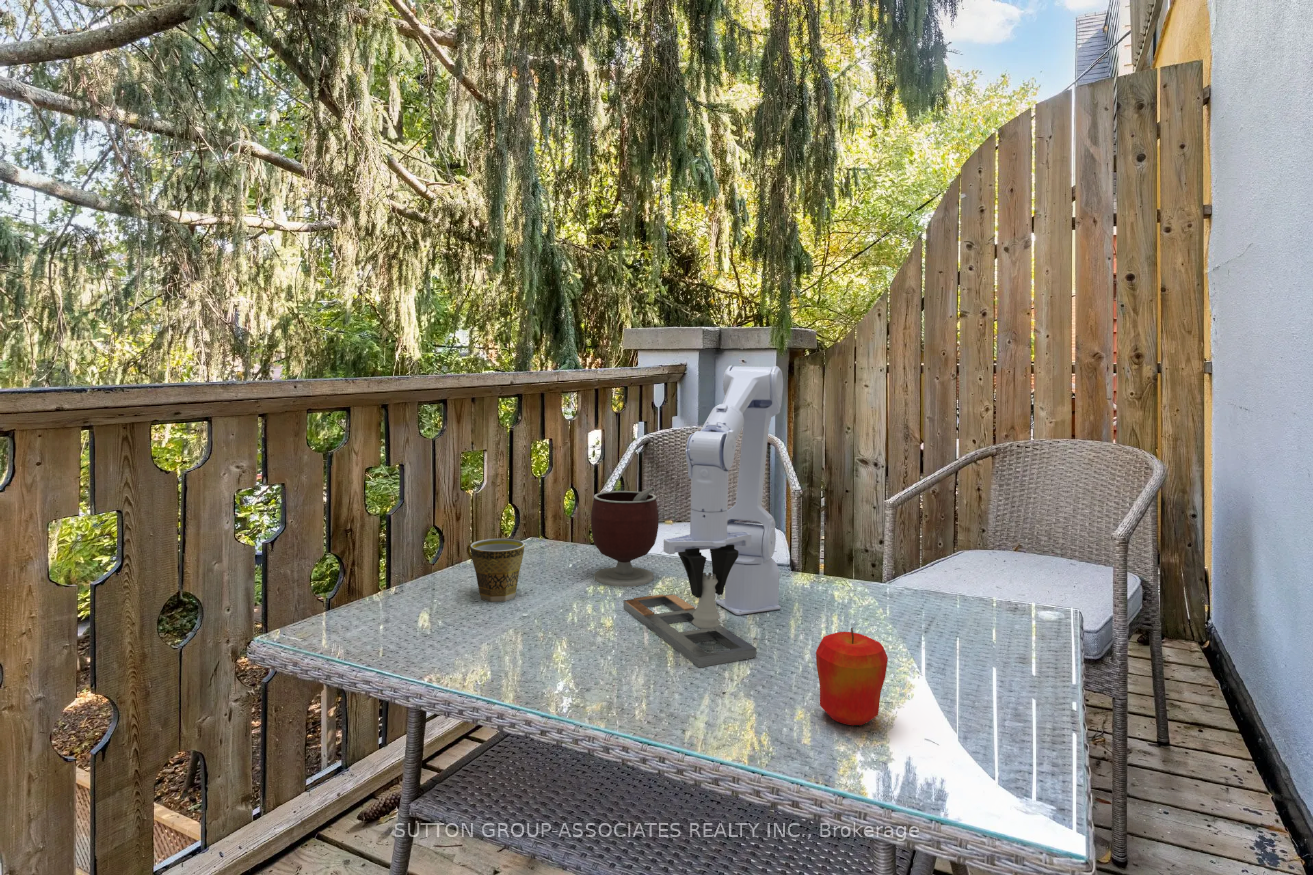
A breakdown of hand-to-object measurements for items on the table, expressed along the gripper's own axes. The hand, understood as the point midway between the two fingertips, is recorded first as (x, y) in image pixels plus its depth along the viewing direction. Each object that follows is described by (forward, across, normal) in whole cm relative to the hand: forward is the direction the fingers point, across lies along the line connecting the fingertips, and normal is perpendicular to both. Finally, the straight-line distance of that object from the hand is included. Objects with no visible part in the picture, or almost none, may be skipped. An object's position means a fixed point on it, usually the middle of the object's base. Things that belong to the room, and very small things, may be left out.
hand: (707, 594), depth 118 cm
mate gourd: (+9, +3, +40) cm, 41 cm away
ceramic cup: (+9, -25, +38) cm, 47 cm away
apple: (+8, +5, -28) cm, 30 cm away
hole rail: (+8, 0, +8) cm, 11 cm away
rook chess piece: (+5, 0, 0) cm, 5 cm away
